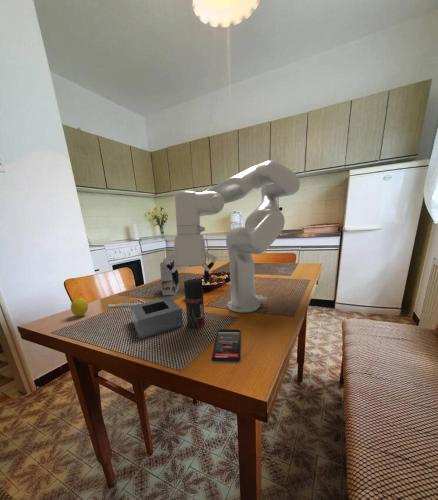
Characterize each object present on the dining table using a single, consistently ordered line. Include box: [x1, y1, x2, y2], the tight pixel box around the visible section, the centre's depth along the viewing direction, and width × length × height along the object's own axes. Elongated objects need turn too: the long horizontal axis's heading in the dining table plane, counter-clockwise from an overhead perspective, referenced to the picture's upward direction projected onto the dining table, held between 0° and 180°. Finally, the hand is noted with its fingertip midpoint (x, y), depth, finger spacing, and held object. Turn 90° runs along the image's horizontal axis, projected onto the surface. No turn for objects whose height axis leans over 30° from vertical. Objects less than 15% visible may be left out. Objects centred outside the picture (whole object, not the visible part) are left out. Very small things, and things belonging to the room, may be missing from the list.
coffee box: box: [159, 259, 179, 296], centre depth 103 cm, size 9×6×16 cm
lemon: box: [70, 296, 89, 318], centre depth 80 cm, size 6×6×8 cm
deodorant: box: [183, 278, 206, 329], centre depth 69 cm, size 6×6×15 cm
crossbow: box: [107, 298, 145, 313], centre depth 89 cm, size 16×13×2 cm
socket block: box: [130, 296, 184, 340], centre depth 71 cm, size 14×14×6 cm
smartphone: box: [210, 328, 242, 364], centre depth 57 cm, size 7×1×15 cm
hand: (191, 282), depth 67 cm, fingers open, 9 cm apart
